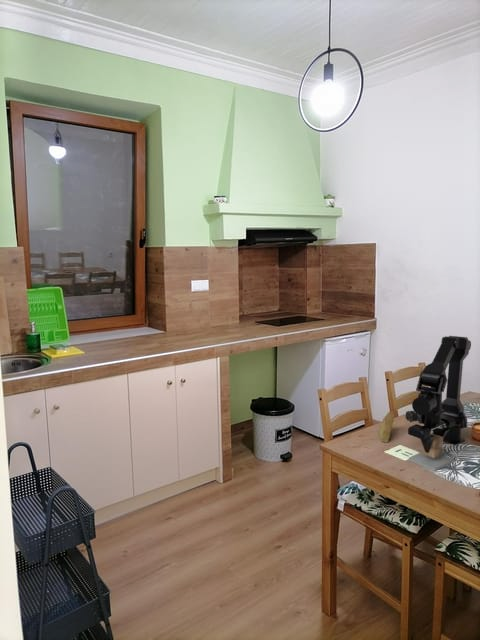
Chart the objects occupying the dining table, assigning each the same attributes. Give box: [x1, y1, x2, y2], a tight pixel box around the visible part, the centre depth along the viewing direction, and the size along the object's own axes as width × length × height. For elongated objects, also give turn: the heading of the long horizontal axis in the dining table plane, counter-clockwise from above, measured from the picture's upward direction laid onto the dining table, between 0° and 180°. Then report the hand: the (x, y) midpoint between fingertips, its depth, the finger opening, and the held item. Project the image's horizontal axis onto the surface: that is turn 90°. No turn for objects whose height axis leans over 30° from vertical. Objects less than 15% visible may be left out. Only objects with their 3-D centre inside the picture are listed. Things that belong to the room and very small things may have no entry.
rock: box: [378, 411, 396, 443], centre depth 177 cm, size 11×9×10 cm
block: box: [420, 432, 444, 458], centre depth 156 cm, size 5×5×6 cm
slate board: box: [408, 451, 455, 472], centre depth 157 cm, size 11×10×1 cm
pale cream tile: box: [384, 444, 421, 462], centre depth 164 cm, size 9×9×1 cm
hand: (431, 450), depth 156 cm, fingers closed on block, 5 cm apart
